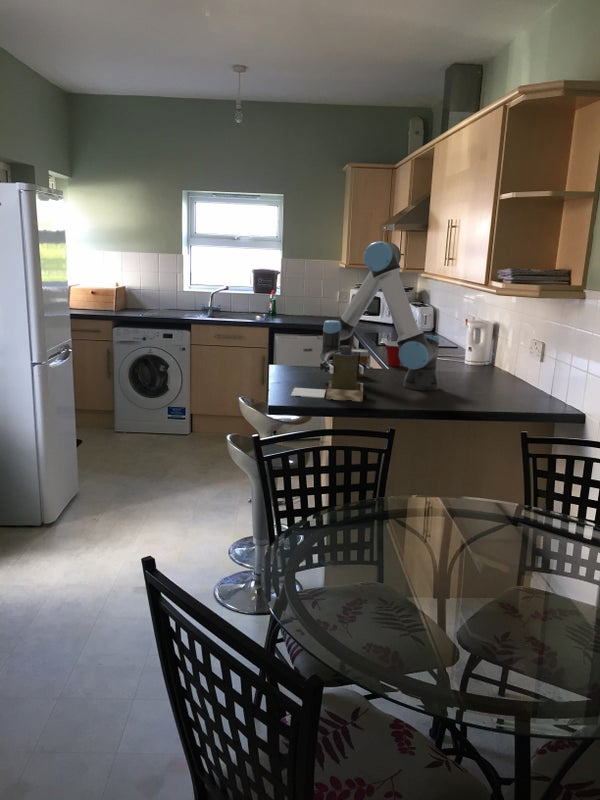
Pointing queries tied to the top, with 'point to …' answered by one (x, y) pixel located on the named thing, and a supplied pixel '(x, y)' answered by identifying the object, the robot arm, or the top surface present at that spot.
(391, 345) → the plastic cup
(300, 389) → the mat
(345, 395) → the tan low open frame
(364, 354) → the disposable coffee cup
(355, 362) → the canister
